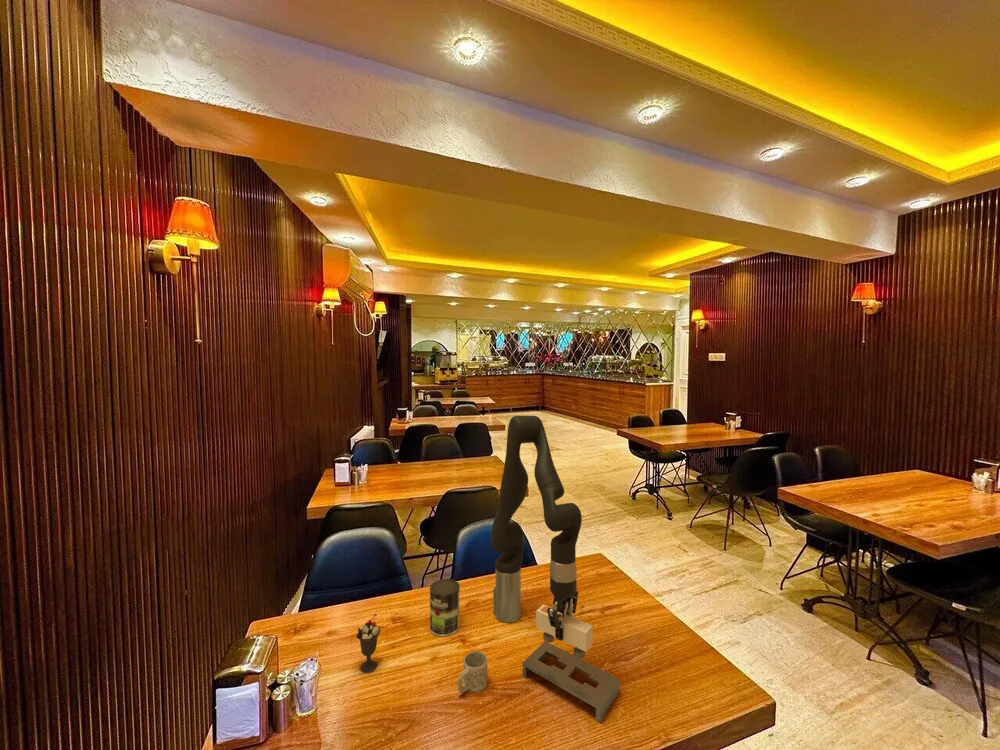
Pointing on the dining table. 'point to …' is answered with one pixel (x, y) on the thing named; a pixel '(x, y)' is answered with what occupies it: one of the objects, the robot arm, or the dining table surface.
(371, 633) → the sundae
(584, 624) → the cream rectangular block
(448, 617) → the coffee can
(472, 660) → the mug
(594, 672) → the slotted board
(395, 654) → the dining table surface
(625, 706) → the dining table surface
